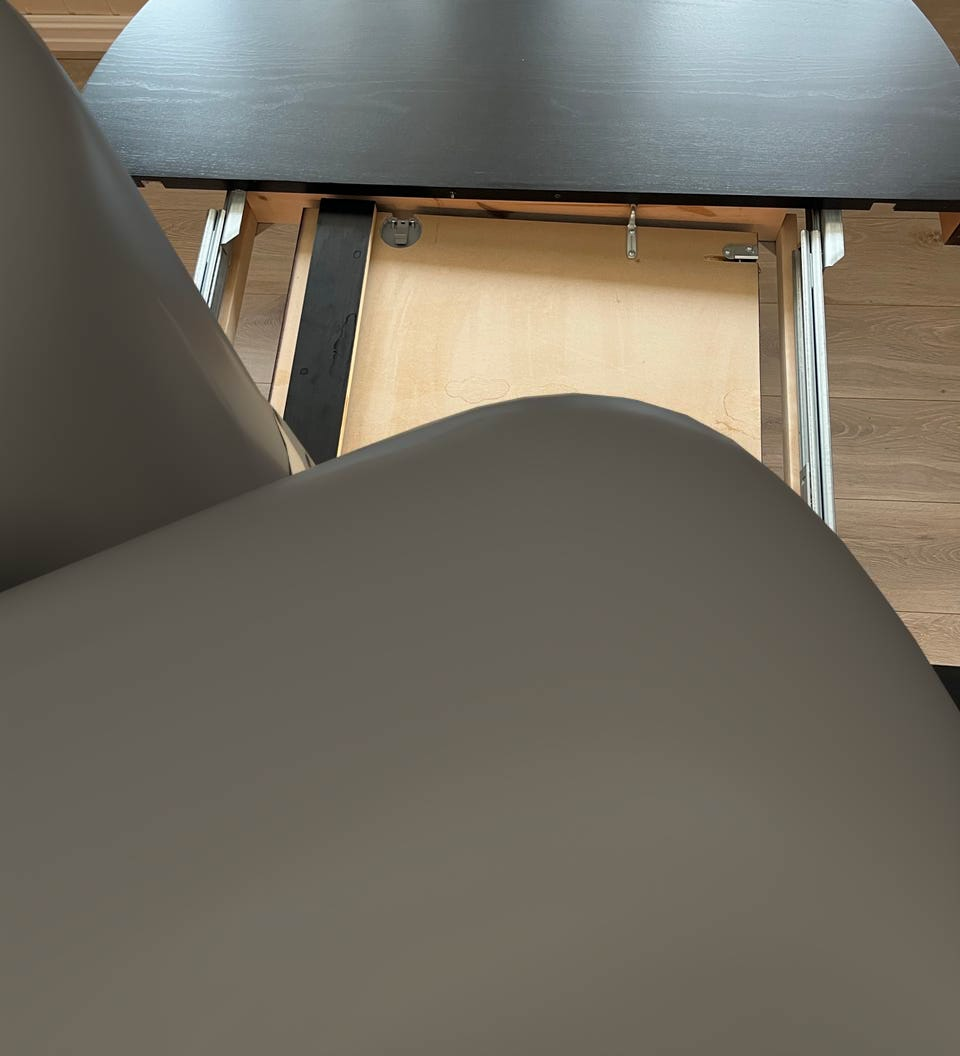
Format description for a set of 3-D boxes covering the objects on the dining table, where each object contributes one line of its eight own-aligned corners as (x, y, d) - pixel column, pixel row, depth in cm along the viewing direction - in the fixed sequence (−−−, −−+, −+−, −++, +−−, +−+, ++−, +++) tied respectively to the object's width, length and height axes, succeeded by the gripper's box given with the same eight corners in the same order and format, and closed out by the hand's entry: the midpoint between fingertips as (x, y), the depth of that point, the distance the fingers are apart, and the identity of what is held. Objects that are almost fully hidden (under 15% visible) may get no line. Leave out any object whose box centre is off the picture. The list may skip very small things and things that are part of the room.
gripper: (400, 996, 17) (464, 916, 34) (245, 133, 23) (365, 430, 40) (-72, 1117, 16) (232, 975, 33) (-98, 207, 23) (169, 476, 40)
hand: (303, 677), depth 36 cm, fingers closed on block, 5 cm apart
